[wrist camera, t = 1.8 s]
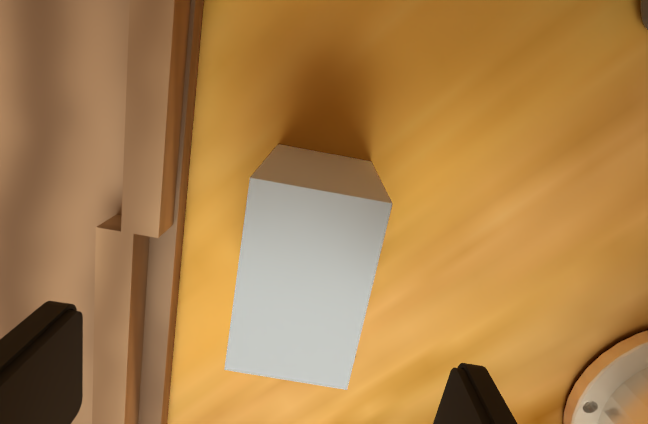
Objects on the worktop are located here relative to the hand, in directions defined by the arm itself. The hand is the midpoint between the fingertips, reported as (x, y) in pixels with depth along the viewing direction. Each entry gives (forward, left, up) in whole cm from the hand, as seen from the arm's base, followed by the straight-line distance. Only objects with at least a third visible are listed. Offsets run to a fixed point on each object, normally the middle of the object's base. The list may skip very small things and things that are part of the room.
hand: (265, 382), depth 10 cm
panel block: (-1, 0, -13) cm, 13 cm away
